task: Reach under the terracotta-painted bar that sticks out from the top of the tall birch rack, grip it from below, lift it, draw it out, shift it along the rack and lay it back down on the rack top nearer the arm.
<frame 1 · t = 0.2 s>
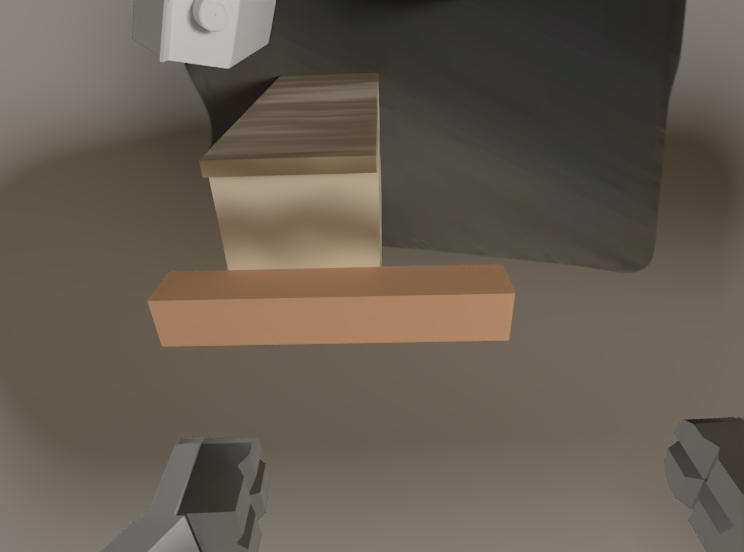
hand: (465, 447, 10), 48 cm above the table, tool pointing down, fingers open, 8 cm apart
bar: (335, 290, 34), point 26 cm above the table, touching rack
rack: (333, 137, 55), on the table
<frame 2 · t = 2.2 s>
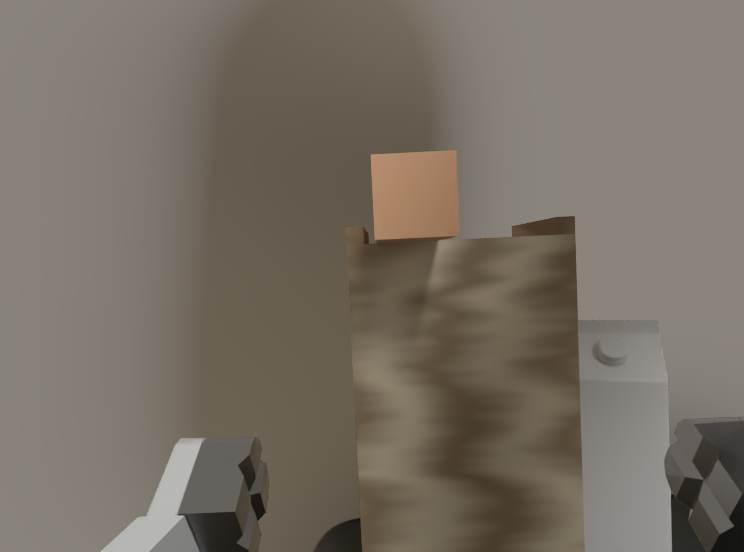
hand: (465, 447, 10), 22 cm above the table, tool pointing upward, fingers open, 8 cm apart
bar: (405, 243, 32), point 26 cm above the table, touching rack
milk carton: (615, 546, 43), on the table
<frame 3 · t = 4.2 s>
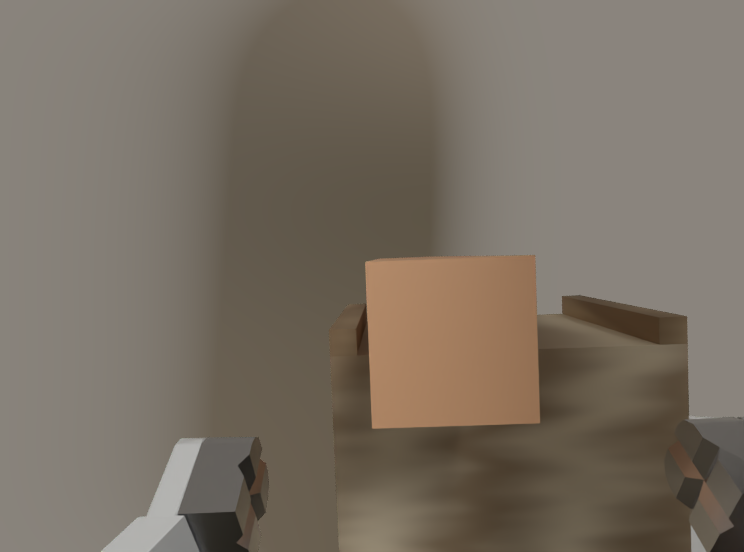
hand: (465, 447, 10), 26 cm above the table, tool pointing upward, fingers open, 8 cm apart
bar: (419, 339, 22), point 26 cm above the table, touching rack
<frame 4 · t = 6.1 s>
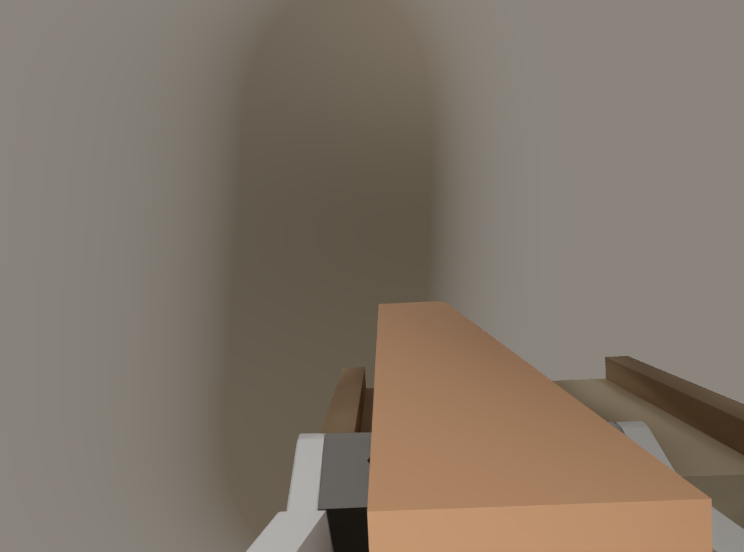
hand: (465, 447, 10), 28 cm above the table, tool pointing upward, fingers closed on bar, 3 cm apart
bar: (436, 442, 16), point 26 cm above the table, touching gripper, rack
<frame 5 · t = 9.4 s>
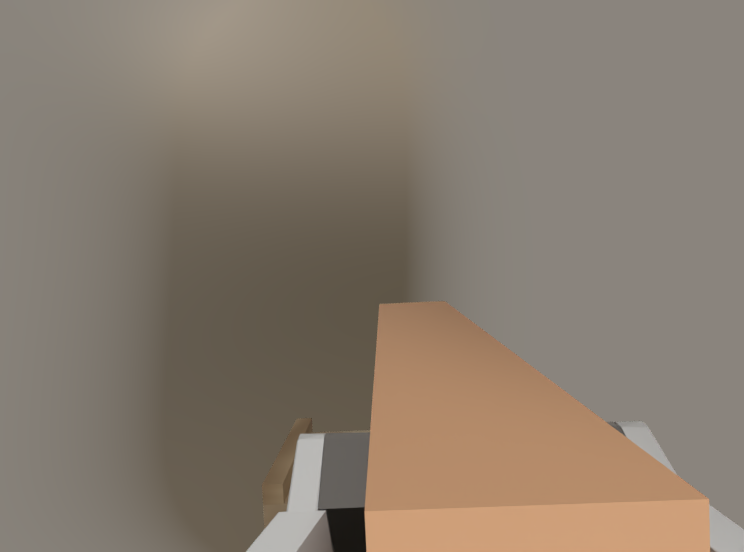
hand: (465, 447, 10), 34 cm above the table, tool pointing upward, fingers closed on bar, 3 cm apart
bar: (436, 442, 16), point 32 cm above the table, touching gripper
when the fingers open (30 cm above the table, at t = 12.6 s): bar drops 2 cm, resting on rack.
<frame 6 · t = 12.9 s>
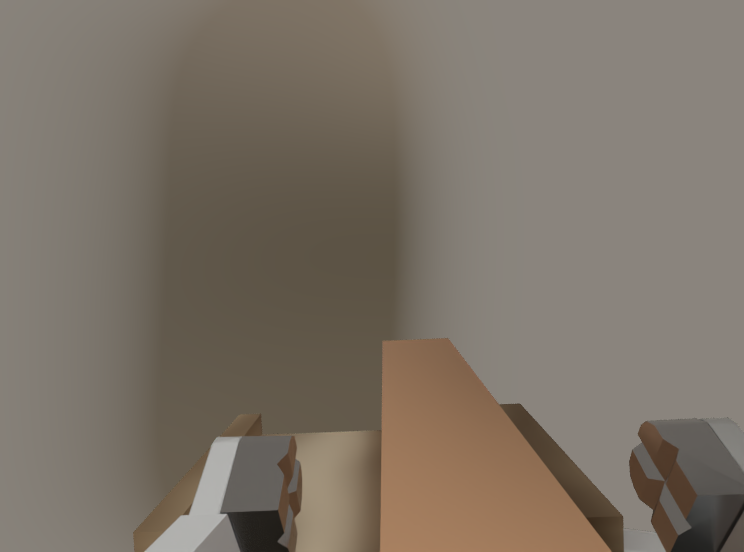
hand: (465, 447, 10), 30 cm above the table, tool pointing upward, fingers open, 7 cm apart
bar: (441, 505, 16), point 26 cm above the table, touching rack
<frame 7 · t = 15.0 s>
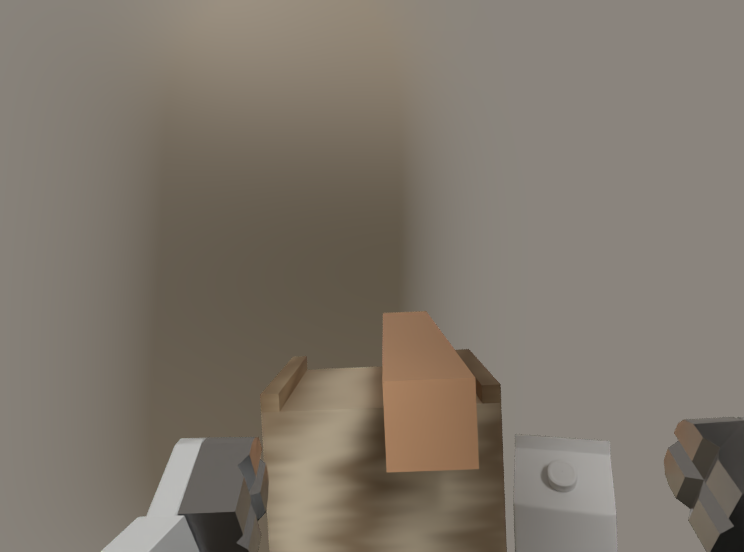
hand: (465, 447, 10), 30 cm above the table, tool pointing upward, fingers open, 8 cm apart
bar: (414, 391, 30), point 26 cm above the table, touching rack
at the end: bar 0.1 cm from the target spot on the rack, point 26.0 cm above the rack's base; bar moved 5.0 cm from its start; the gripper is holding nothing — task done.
